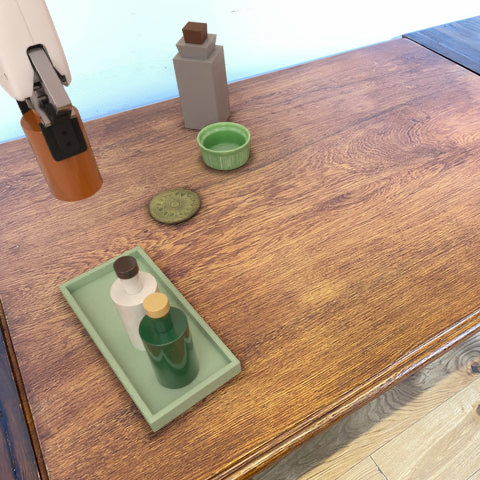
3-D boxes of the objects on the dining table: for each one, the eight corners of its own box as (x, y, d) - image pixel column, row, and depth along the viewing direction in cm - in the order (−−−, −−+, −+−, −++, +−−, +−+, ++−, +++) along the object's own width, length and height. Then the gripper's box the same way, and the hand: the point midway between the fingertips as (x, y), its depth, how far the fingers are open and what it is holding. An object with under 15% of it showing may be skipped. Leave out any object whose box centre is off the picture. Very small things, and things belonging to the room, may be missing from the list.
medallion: (186, 228, 77) (185, 225, 76) (139, 217, 78) (138, 213, 78) (209, 195, 82) (208, 192, 82) (164, 185, 84) (164, 182, 83)
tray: (63, 295, 68) (57, 285, 66) (142, 255, 73) (139, 245, 72) (154, 432, 55) (150, 424, 54) (241, 371, 61) (240, 362, 59)
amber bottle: (43, 183, 55) (0, 90, 47) (90, 165, 57) (57, 73, 49) (63, 209, 52) (21, 114, 44) (111, 188, 55) (79, 95, 47)
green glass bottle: (147, 367, 60) (120, 299, 51) (185, 343, 62) (165, 274, 53) (169, 397, 57) (144, 331, 48) (207, 372, 60) (190, 303, 50)
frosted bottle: (122, 332, 63) (91, 261, 54) (158, 310, 66) (135, 239, 56) (141, 359, 61) (113, 289, 51) (178, 336, 63) (158, 265, 54)
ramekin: (262, 152, 91) (261, 131, 88) (231, 179, 85) (228, 158, 82) (222, 137, 94) (219, 116, 91) (189, 162, 88) (185, 140, 85)
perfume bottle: (220, 132, 95) (207, 36, 82) (185, 127, 96) (167, 32, 83) (230, 112, 100) (220, 20, 87) (197, 109, 100) (182, 16, 88)
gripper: (-110, -85, 40) (-10, 117, 53) (-47, -23, 31) (55, 201, 44) (-9, -98, 44) (61, 94, 57) (73, -46, 35) (135, 167, 48)
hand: (58, 139), depth 50 cm, fingers closed on amber bottle, 5 cm apart
